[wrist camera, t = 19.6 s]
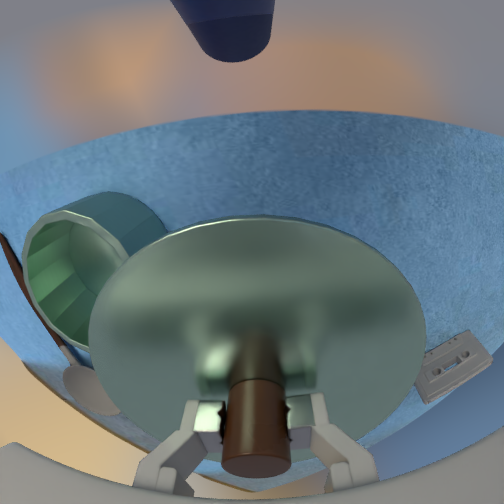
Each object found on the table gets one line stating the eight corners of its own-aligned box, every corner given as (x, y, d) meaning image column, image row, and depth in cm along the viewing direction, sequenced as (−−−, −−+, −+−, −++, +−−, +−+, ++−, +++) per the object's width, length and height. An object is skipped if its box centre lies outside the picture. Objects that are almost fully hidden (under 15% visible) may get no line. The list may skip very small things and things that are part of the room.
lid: (54, 238, 9) (-22, 289, 5) (437, 195, 9) (526, 236, 4) (158, 447, 15) (144, 501, 11) (383, 433, 14) (400, 488, 10)
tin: (55, 204, 26) (6, 225, 19) (161, 181, 26) (122, 197, 18) (87, 310, 31) (54, 349, 24) (187, 309, 31) (167, 359, 23)
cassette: (405, 370, 34) (424, 407, 27) (404, 363, 34) (424, 400, 27) (468, 334, 32) (492, 364, 25) (469, 326, 32) (494, 356, 25)
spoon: (98, 407, 39) (92, 418, 36) (-9, 245, 29) (-20, 250, 26) (142, 398, 38) (137, 411, 35) (24, 211, 28) (10, 216, 26)
